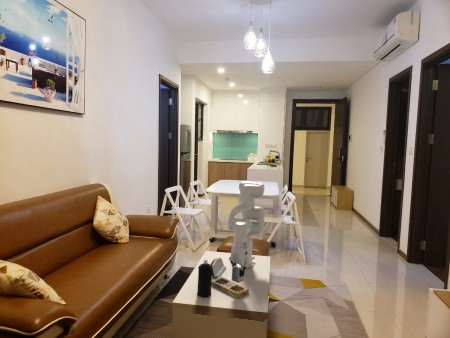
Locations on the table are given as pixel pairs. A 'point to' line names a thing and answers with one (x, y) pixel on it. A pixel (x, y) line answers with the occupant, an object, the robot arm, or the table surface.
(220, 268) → the gray curved box
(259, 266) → the table surface
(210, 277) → the aerosol can
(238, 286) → the wooden slotted tray
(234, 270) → the grey rectangular block
